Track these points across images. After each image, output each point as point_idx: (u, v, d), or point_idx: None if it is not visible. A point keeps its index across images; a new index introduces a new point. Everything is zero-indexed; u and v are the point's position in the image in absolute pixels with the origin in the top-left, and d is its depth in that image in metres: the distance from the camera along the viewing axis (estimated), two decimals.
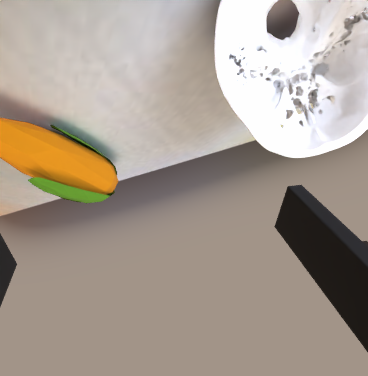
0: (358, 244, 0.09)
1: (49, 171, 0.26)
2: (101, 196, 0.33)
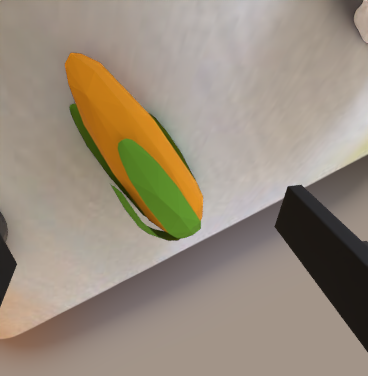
0: (358, 244, 0.09)
1: (141, 144, 0.19)
2: (192, 216, 0.23)
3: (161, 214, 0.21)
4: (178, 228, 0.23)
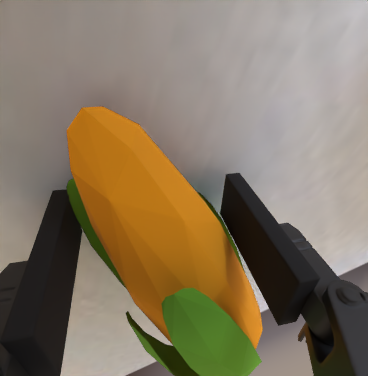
0: (272, 224, 0.10)
1: (201, 278, 0.10)
2: (254, 362, 0.14)
3: (211, 374, 0.12)
4: None
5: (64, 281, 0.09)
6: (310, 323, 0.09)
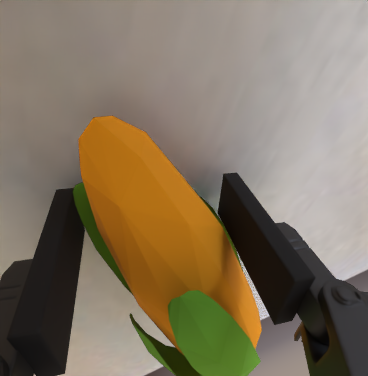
0: (269, 223, 0.10)
1: (204, 280, 0.10)
2: (254, 362, 0.14)
3: (213, 374, 0.13)
4: None
5: (68, 279, 0.09)
6: (306, 322, 0.09)
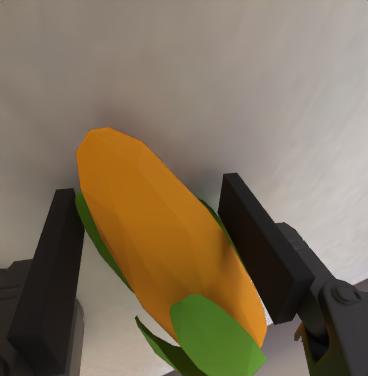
0: (269, 223, 0.10)
1: (205, 283, 0.10)
2: (260, 361, 0.15)
3: (219, 373, 0.13)
4: None
5: (68, 279, 0.09)
6: (306, 322, 0.09)
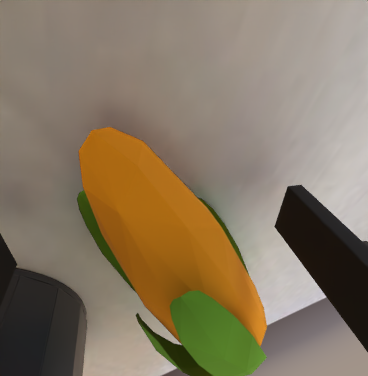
0: (358, 244, 0.09)
1: (205, 280, 0.11)
2: (259, 358, 0.15)
3: (218, 370, 0.13)
4: None
5: None
6: None
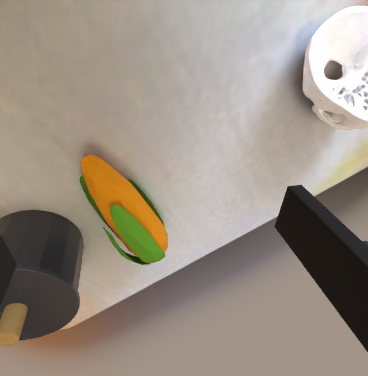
0: (358, 244, 0.09)
1: (125, 206, 0.30)
2: (157, 249, 0.34)
3: (136, 248, 0.33)
4: (148, 257, 0.34)
5: None
6: None
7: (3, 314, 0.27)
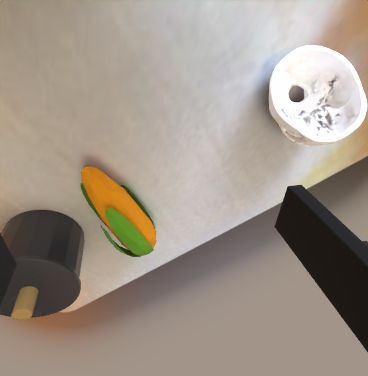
0: (358, 244, 0.09)
1: (118, 208, 0.37)
2: (146, 244, 0.41)
3: (128, 243, 0.39)
4: (138, 250, 0.41)
5: None
6: None
7: (19, 295, 0.34)
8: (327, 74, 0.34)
